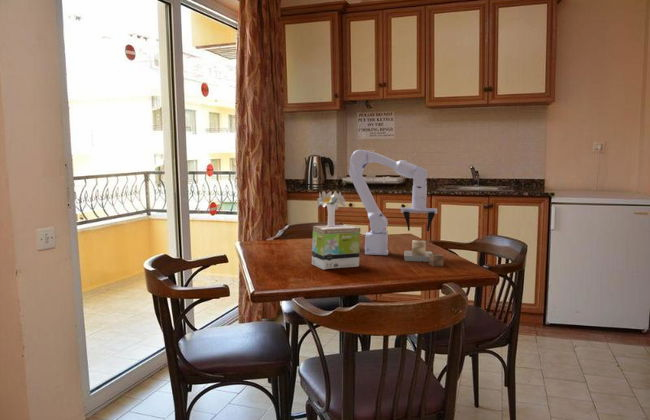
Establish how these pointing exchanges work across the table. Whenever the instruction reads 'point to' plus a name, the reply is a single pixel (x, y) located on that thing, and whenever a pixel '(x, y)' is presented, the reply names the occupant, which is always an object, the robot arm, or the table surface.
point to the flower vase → (331, 204)
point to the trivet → (416, 256)
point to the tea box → (335, 246)
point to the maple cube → (418, 247)
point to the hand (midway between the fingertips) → (418, 230)
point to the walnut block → (436, 259)
